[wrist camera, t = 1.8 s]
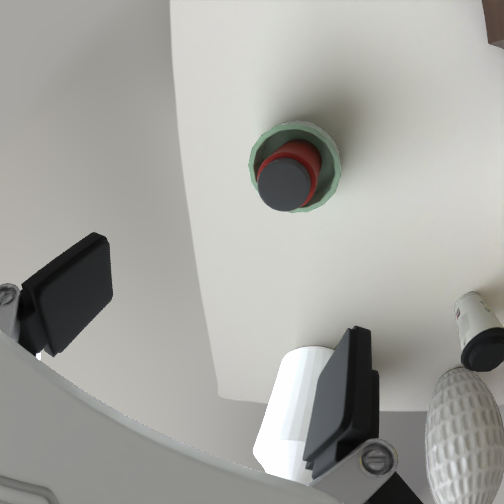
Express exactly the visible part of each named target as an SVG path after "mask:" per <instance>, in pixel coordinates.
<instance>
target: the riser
mask: <svg viewBox="0 0 504 504" xmlns="http://www.w3.org/2000/svg"><path fill="white" fill-rule="evenodd" d="M482 4H483V9H484V15H485V21H486V28H487V36H488V43H489V44H491V45H494V46H497V47H500V48H503V49H504V0H482Z"/></svg>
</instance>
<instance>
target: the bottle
mask: <svg viewBox="0 0 504 504" xmlns="http://www.w3.org/2000/svg"><path fill="white" fill-rule="evenodd" d="M334 351H335V350H332V349H329V348H326V347H320V346H307V347H301V348H298V349H295V350H293V351H291V352H289V353H288V354H287V355H286V356H285V357H284V359H283V361H282V363H281V367H280V370H279V373H278V376H277V380H276V383H275V386H274V389H273V392H272V396H271V399H270V402H269V405H268V408H267V411H266V414H265V417H264V420H263V424H262V426H261V429H260V432H259V435H258V438H257V441H256V444H255V446H254V449H253V453H254V455H255V457H256V458H257V459H258V461H259V462H260V463H261V465H262V466H263V467H264V469H265V470H266V472H267V473H269V474H272V475H275V476H278V477H282V478H285V479H288V480H292V481H295V482H298V483H301V484H304V485H307V484H308V483H309V482H311V481H312V480H313V479H312V477H311V475H312V470H307V469H305V466H306V462H307V461H303V459H302V458H303V453H304V448H305V443H306V439H307V434H308V429H309V424H310V419H311V414H312V409H313V403H314V398H315V392H316V386H317V381H318V378H319V375H320V373H321V372H322V370H323V368H324V367H325V365H326V364H327V362H328V360H329V359H330V357H331V356H332V354H333V352H334Z"/></svg>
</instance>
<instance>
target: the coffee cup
mask: <svg viewBox="0 0 504 504" xmlns="http://www.w3.org/2000/svg"><path fill="white" fill-rule="evenodd" d="M454 311H455V316H456V321H457V327H458V333H459V339H460V345H461V352H462V354H461V362H462V364H463V365H464V366H465V367H466V368H467V369H469V370H471V371H476V372H488V371H491V370H493V369H494V368H496V367H497V366H499V365H500V364H501V363H502V362H503V361H504V327H503V326H502V324H501V323H500V321H499V320H498V319H497V317H496V316H495V314H494V313H493V311H492V310H491V309H490V307H489V306H488V305H487V303H486V302H485V300H484V299H483V298H482V296H481V295H480V294H478V293H476V292H469V293H467V294H465V295H463V296H462V297H461V298H460V299H459V300H458V301H457V303H456V305H455V309H454Z"/></svg>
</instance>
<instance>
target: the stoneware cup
mask: <svg viewBox="0 0 504 504" xmlns="http://www.w3.org/2000/svg"><path fill="white" fill-rule="evenodd" d="M293 139H303V140H307V141H309V142H311V143H312V144H313V145H315V146H316V148H317V149H318V150H319V152H320V154H321V158H322V166H321V170H320V174H319V178H318V182H317V186H316V189H315V192H314V195H313V196H312V198H311V199H310V200H309V201H308V202H307V203H306V204H305V205H303V206H301V207H299V208H297V209H295V210H292V211H287V212H290V213H297V212H309V211H311V210H313V209H316V208H318V207H320V206H322V205H324V204H325V203H326V202H327V201H328V200H329V198H330V197H331V196H332V195H333V194H334V193H335V191H336V188H337V185H338V182H339V179H340V176H341V165H340V155H339V149H338V148H337V146H336V143H335V142H334V140H333V139H332V137H331V135H329V134H328V133H327V132H326V131H325V130H324V129H322V128H321V127H319V126H318V125H316V124H313V123H310V122H306V121H301V120H300V121H291V122H284V123H282V124H280V125H278V126H276V127H274V128H272V129H271V130H269V131H267V132H265V133H264V134H262V135H261V137H260V138H259V139H258V141H257V142H256V144H255V145H254V146H253V148H252V150H251V155H250V159H249V164H248V167H249V172H250V178H251V182H252V184H253V186H254V187H255V189H256V190H257V192H258V188H257V176H258V171H259V168H260V166H261V165H262V163H263V162H264V161H265V160H266V159H267V158H268V157H269V156H270V155H272V154H273V153H274V152H275V151H276V150H277V149H279V148H280V147H281V146H282V145H283V144H285V143H286V142H288V141H290V140H293ZM258 194H259V193H258Z"/></svg>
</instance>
